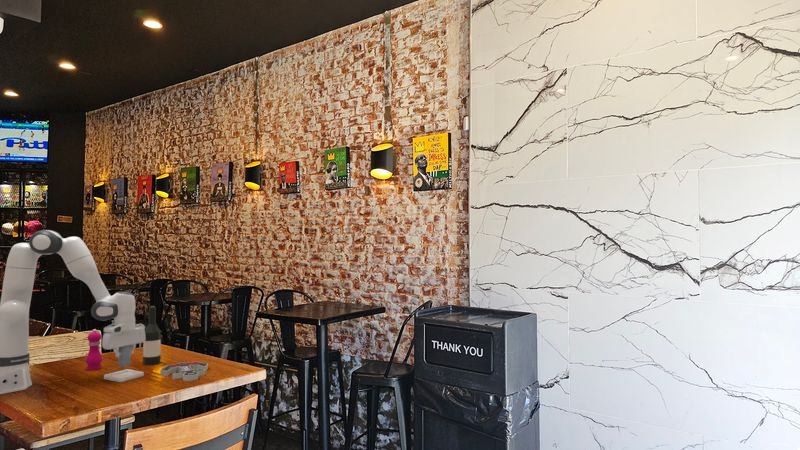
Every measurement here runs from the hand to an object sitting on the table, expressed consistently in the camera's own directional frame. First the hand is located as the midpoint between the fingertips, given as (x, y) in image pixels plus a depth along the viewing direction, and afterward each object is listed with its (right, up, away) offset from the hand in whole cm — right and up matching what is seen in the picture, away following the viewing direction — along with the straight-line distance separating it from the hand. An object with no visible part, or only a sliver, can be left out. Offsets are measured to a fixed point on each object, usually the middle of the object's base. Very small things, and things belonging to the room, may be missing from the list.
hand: (124, 355), depth 249 cm
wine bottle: (0, -11, +28) cm, 30 cm away
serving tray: (0, -11, 0) cm, 11 cm away
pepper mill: (-24, -11, +16) cm, 31 cm away
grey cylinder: (0, -5, 0) cm, 5 cm away
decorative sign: (+26, -11, +7) cm, 30 cm away
